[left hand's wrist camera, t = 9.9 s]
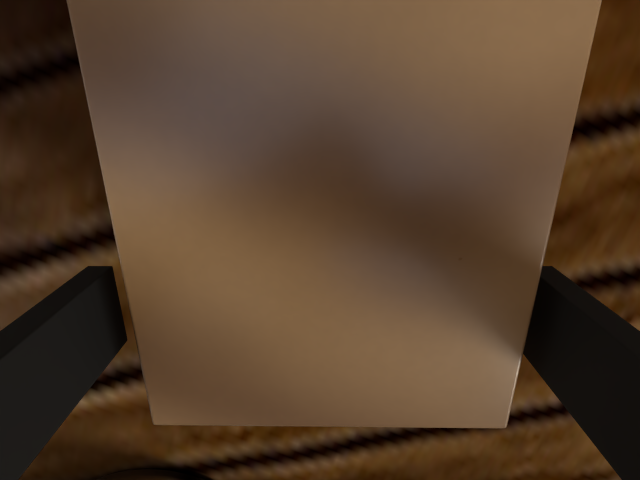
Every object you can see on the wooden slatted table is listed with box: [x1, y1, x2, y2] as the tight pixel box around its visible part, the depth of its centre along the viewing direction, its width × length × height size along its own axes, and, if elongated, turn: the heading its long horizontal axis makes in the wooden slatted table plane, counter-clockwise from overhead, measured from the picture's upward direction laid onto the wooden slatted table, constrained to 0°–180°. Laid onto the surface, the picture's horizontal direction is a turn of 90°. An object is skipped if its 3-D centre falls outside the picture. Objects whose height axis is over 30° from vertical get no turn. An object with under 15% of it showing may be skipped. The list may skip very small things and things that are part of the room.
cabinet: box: [67, 0, 602, 428], centre depth 14 cm, size 18×11×10 cm, turn 0°
